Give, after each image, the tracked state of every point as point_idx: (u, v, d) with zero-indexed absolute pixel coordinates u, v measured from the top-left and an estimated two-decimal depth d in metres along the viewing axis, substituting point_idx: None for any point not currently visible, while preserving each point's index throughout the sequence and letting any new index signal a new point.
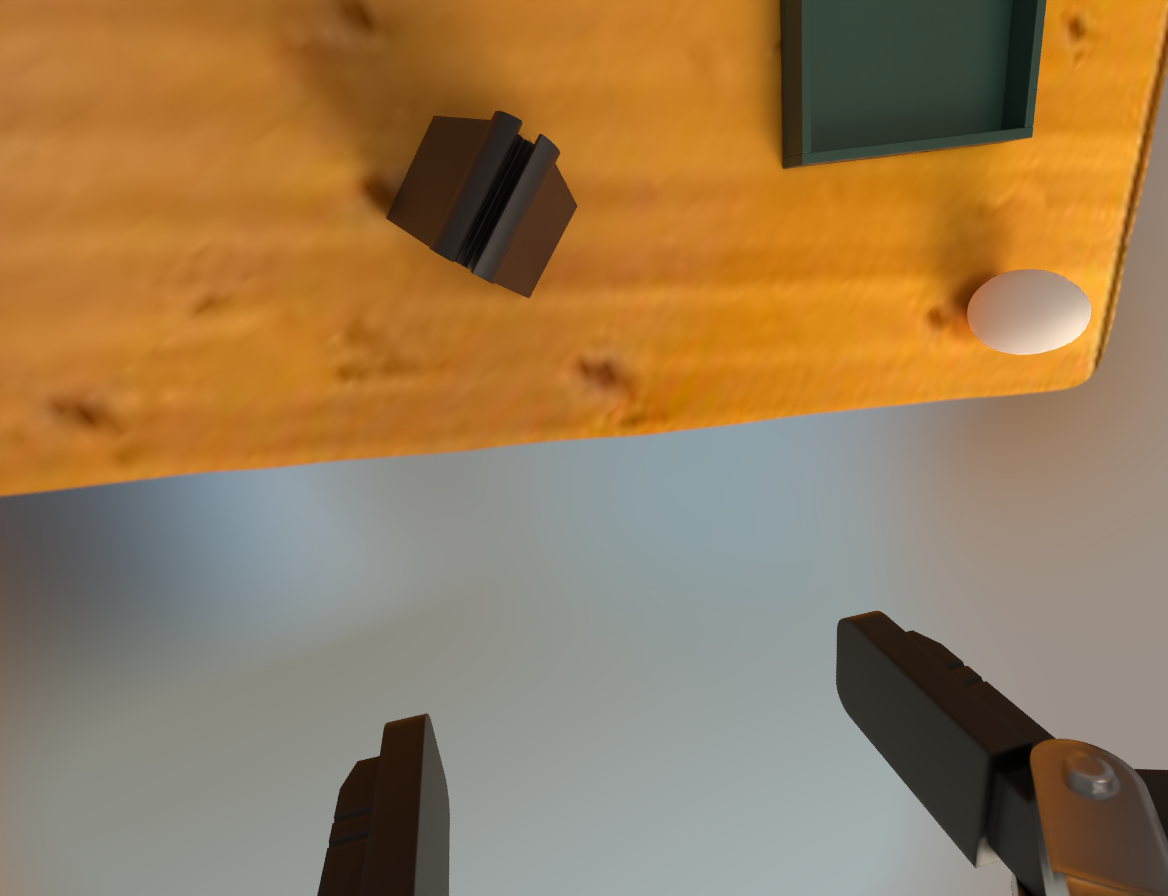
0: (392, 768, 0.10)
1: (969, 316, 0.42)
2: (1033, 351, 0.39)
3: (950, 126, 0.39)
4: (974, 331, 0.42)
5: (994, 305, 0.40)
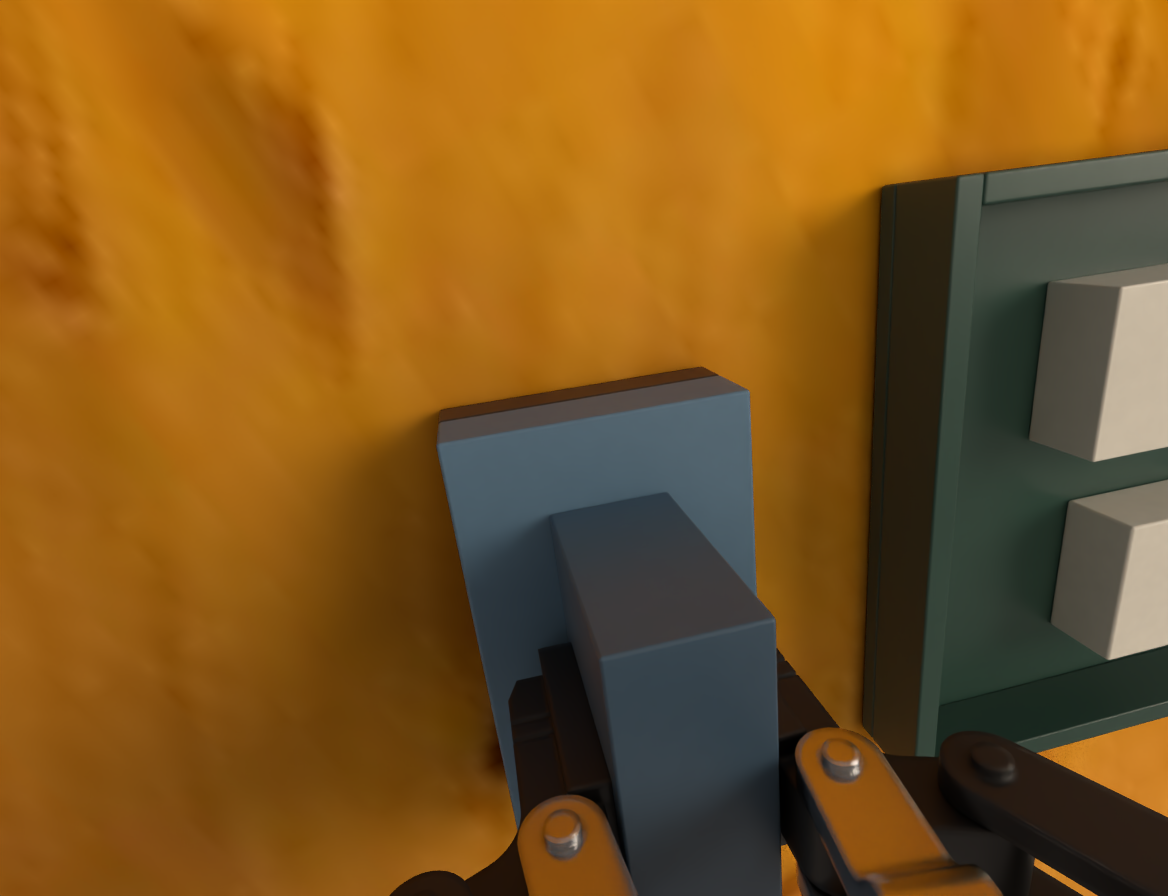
0: (557, 681, 0.11)
1: None
2: None
3: None
4: None
5: None
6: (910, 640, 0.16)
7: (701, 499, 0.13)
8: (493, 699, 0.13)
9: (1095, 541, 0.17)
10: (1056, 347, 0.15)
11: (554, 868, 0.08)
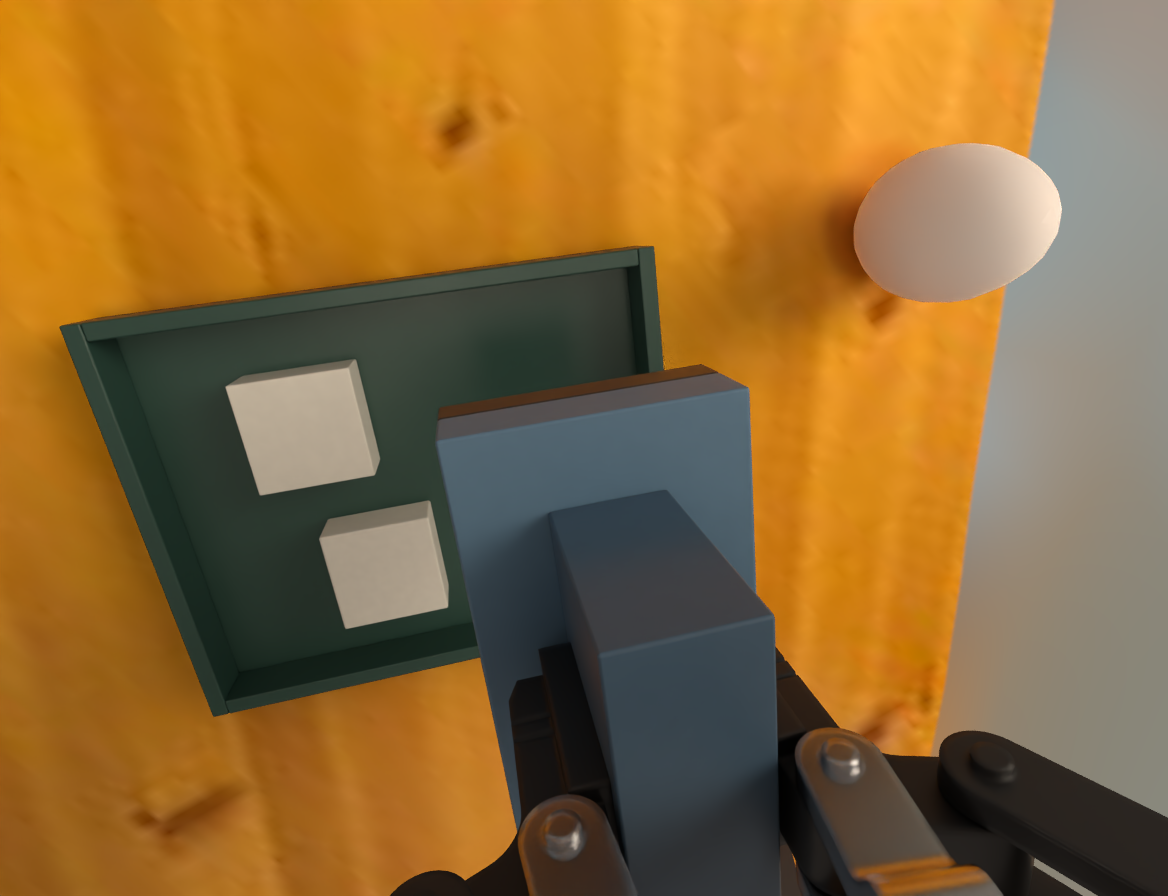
0: (558, 681, 0.11)
1: None
2: None
3: (619, 360, 0.25)
4: None
5: (925, 301, 0.23)
6: None
7: (701, 497, 0.13)
8: (492, 697, 0.13)
9: None
10: None
11: (554, 868, 0.08)
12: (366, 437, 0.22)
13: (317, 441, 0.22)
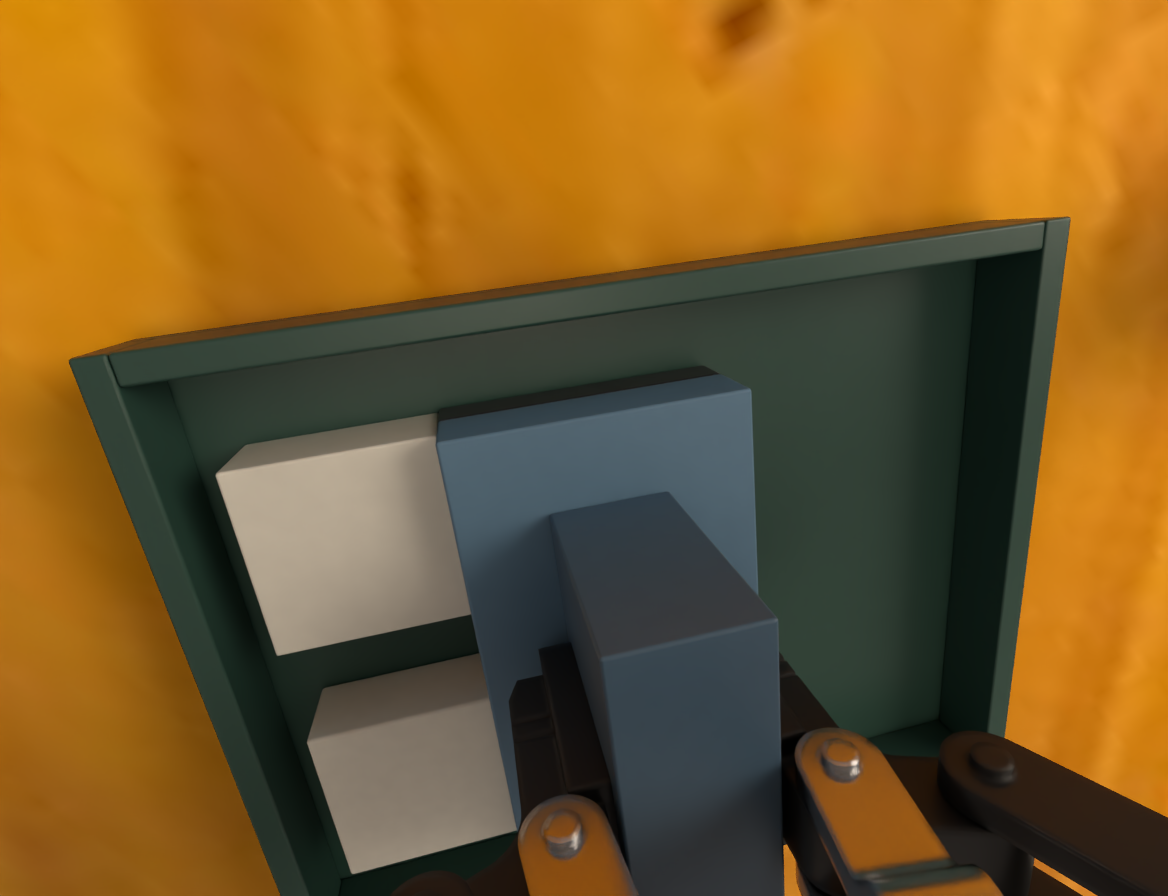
0: (558, 681, 0.11)
1: None
2: None
3: (941, 401, 0.16)
4: None
5: None
6: None
7: (702, 498, 0.12)
8: (493, 700, 0.13)
9: None
10: None
11: (555, 868, 0.08)
12: None
13: (378, 562, 0.12)
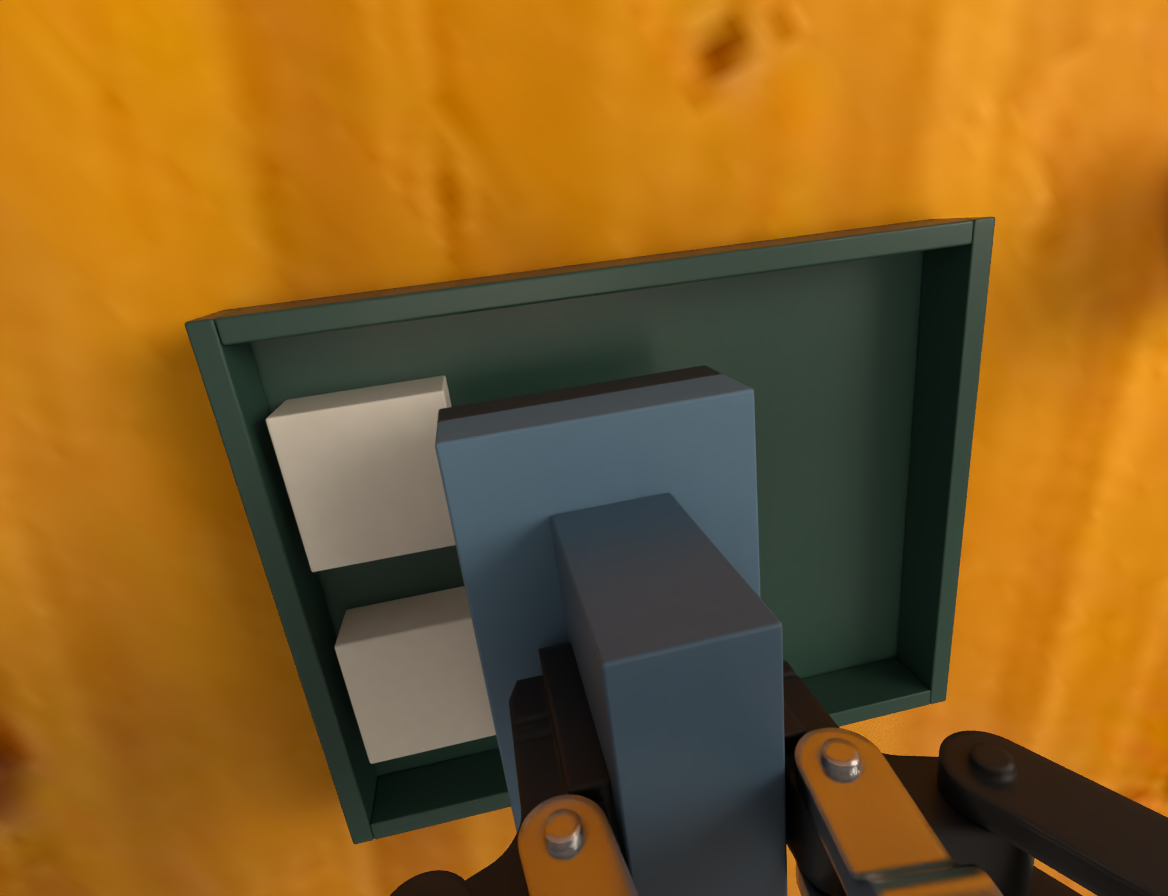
0: (558, 681, 0.11)
1: None
2: None
3: (894, 374, 0.19)
4: None
5: None
6: None
7: (704, 500, 0.12)
8: (493, 703, 0.13)
9: None
10: None
11: (554, 868, 0.08)
12: None
13: (395, 496, 0.15)
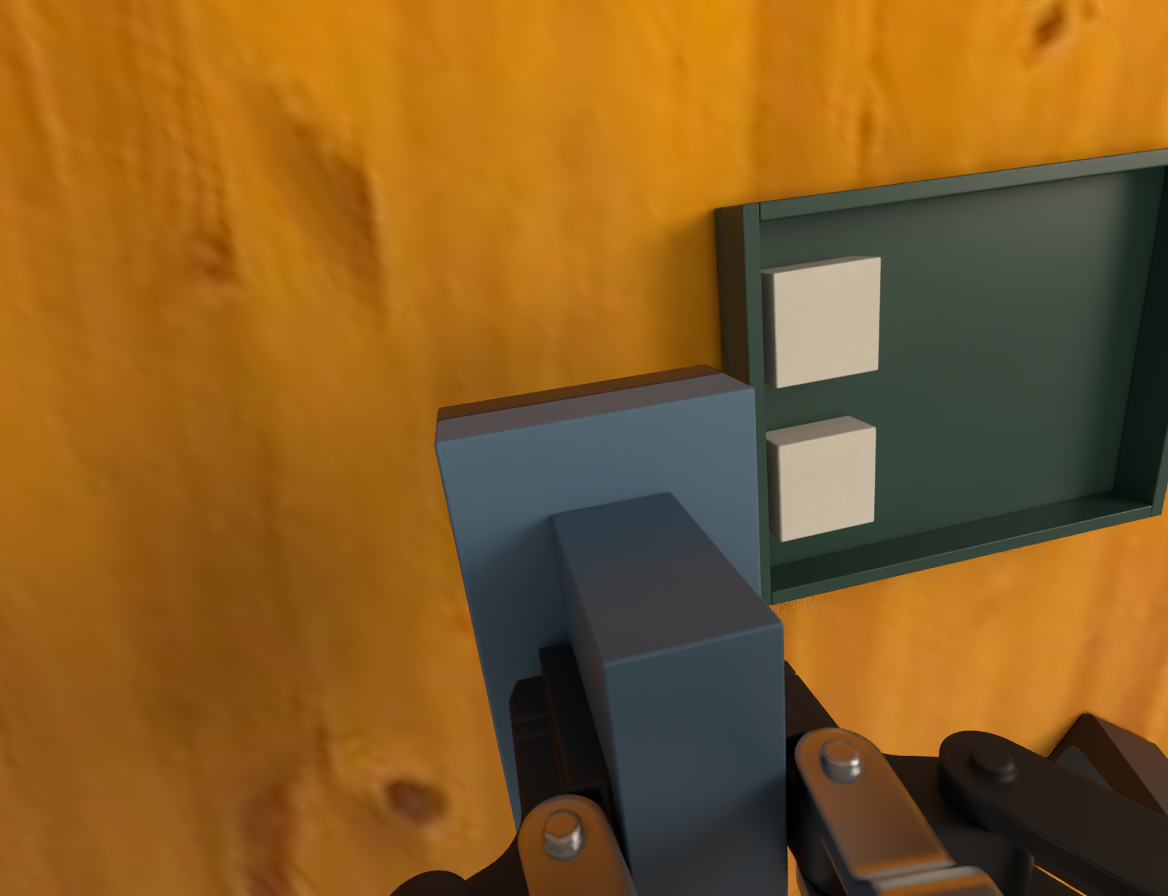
0: (558, 681, 0.11)
1: None
2: None
3: (1137, 263, 0.26)
4: None
5: None
6: None
7: (705, 499, 0.12)
8: (492, 703, 0.13)
9: (768, 459, 0.24)
10: None
11: (554, 868, 0.08)
12: None
13: (838, 333, 0.22)
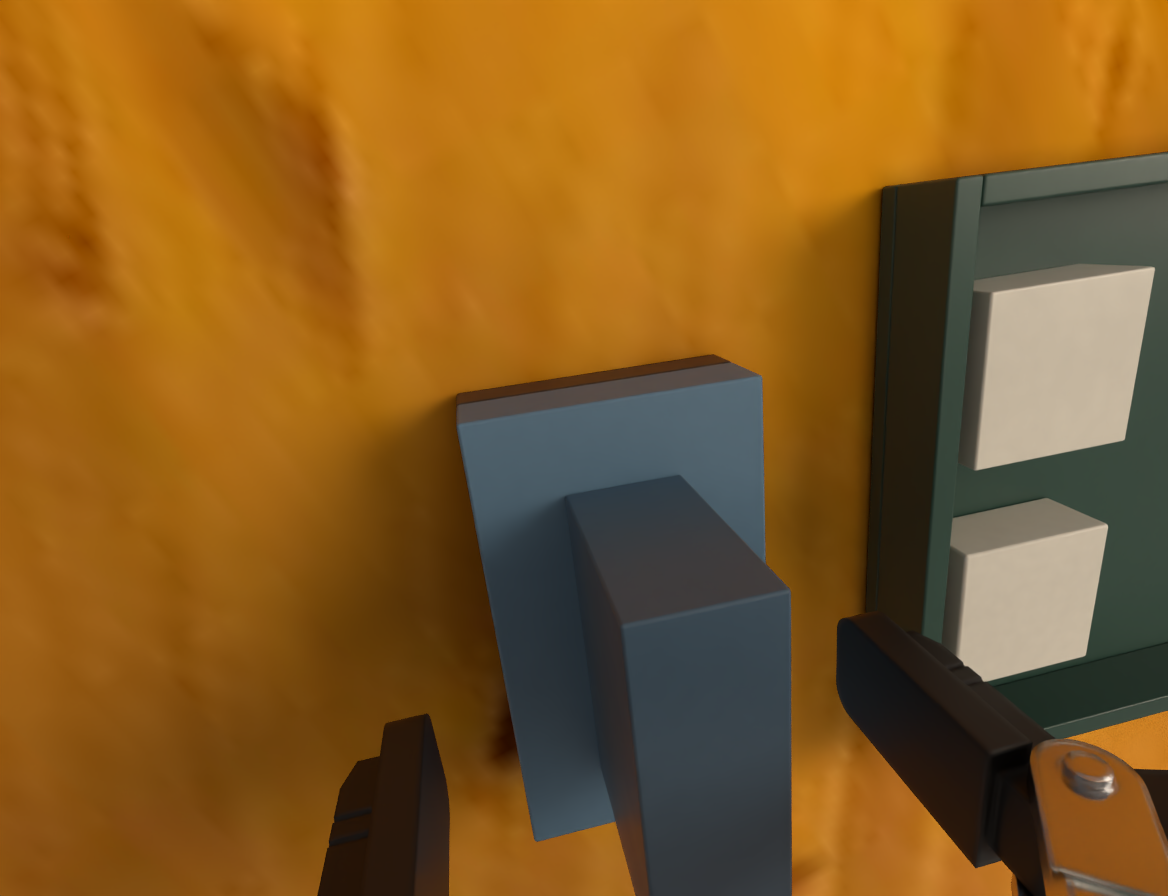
0: (392, 768, 0.10)
1: None
2: None
3: None
4: None
5: None
6: None
7: (713, 482, 0.13)
8: (507, 677, 0.13)
9: None
10: None
11: None
12: None
13: (1076, 385, 0.14)
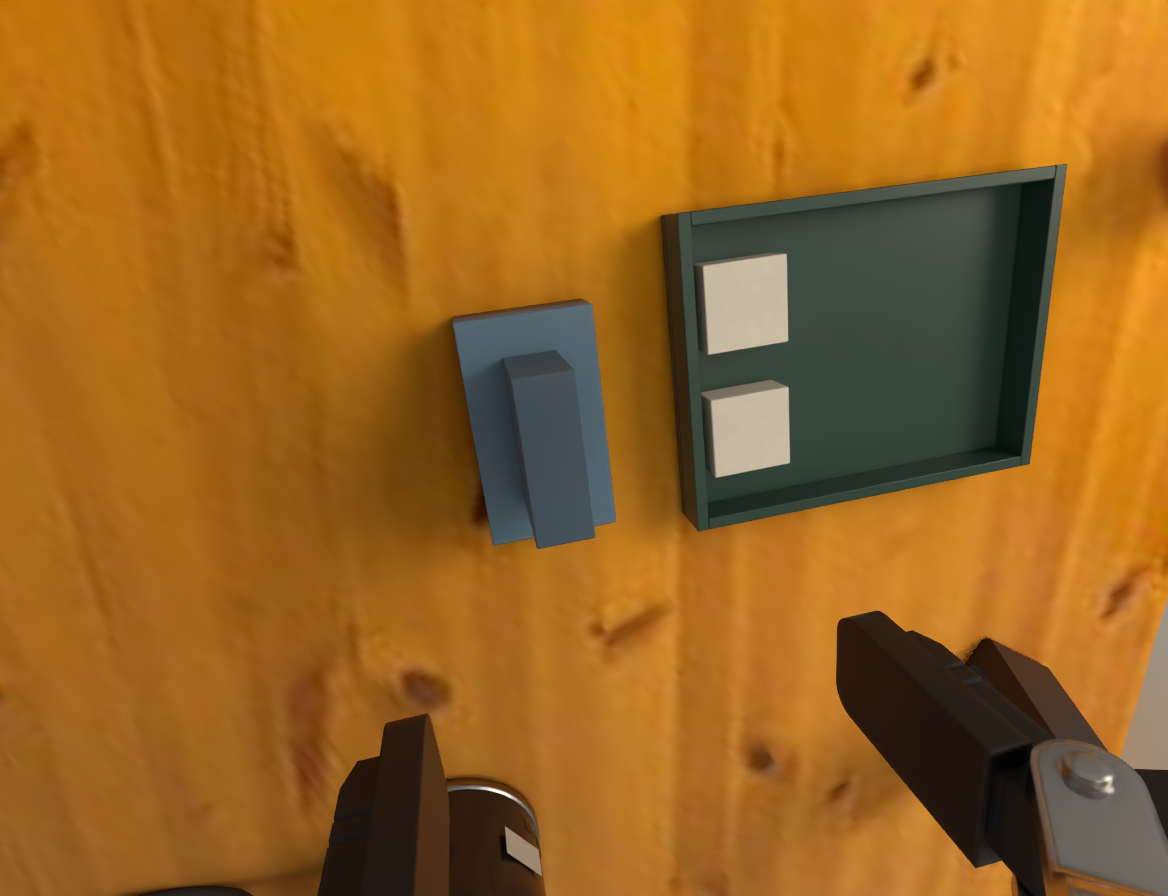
0: (392, 768, 0.10)
1: None
2: None
3: (1003, 260, 0.32)
4: None
5: None
6: (689, 447, 0.31)
7: (572, 354, 0.28)
8: (477, 450, 0.28)
9: (704, 412, 0.31)
10: None
11: None
12: None
13: (755, 312, 0.29)
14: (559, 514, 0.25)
